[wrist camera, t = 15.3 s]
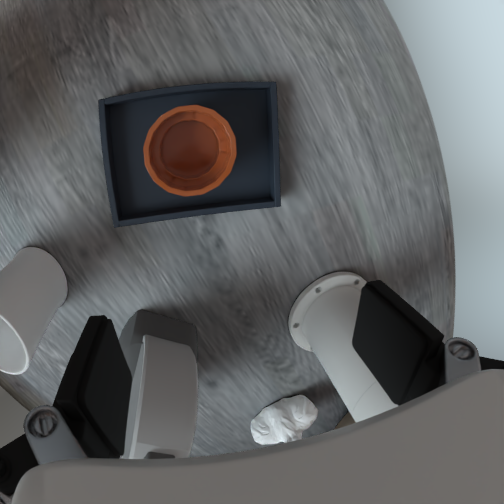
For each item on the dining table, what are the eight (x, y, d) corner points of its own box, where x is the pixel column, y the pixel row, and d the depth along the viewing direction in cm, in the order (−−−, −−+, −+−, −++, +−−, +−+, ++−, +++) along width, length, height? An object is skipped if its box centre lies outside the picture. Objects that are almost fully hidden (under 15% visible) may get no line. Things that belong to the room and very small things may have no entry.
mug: (27, 327, 29) (-6, 389, 18) (-10, 277, 25) (-57, 330, 14) (81, 293, 29) (47, 363, 18) (40, 233, 25) (-16, 285, 14)
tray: (269, 85, 25) (276, 81, 23) (273, 201, 30) (281, 206, 28) (104, 102, 22) (98, 99, 20) (119, 220, 27) (114, 227, 25)
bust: (248, 414, 47) (277, 462, 42) (236, 422, 40) (269, 476, 35) (305, 384, 47) (336, 433, 42) (302, 388, 40) (337, 445, 35)
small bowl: (225, 107, 25) (233, 101, 20) (229, 181, 28) (239, 190, 23) (148, 116, 23) (140, 111, 19) (155, 190, 26) (149, 201, 22)
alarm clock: (176, 397, 38) (187, 506, 22) (110, 381, 35) (98, 493, 18) (212, 316, 34) (243, 450, 18) (130, 292, 30) (103, 430, 14)
